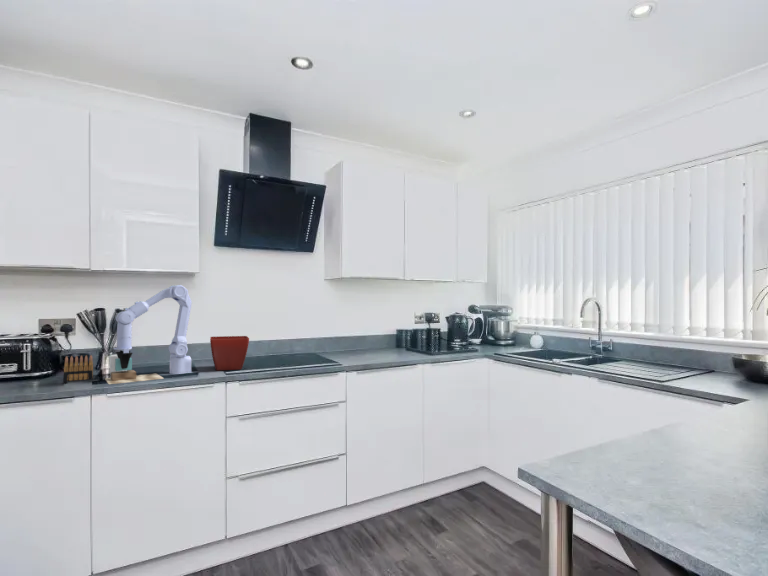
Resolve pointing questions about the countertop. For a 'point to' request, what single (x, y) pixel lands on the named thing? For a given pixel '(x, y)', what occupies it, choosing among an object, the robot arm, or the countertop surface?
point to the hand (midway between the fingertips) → (123, 367)
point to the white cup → (113, 363)
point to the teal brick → (118, 365)
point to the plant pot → (229, 351)
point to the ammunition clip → (78, 369)
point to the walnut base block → (123, 375)
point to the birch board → (138, 378)
